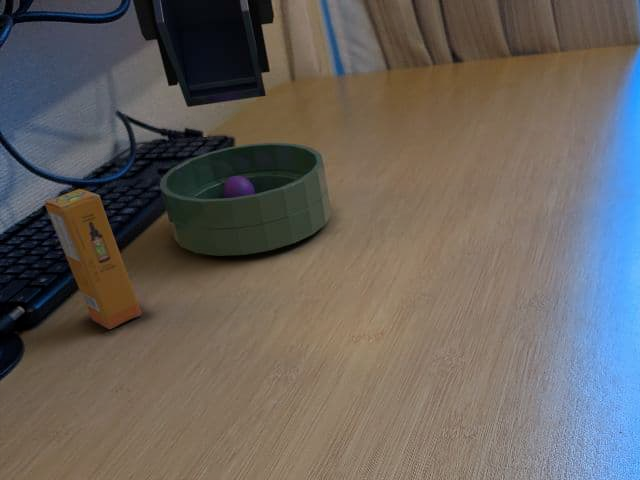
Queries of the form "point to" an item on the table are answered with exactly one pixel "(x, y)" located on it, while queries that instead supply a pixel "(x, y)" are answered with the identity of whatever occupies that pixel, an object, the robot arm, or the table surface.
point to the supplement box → (93, 257)
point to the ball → (237, 187)
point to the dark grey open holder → (211, 49)
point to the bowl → (247, 199)
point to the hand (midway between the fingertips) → (219, 75)
